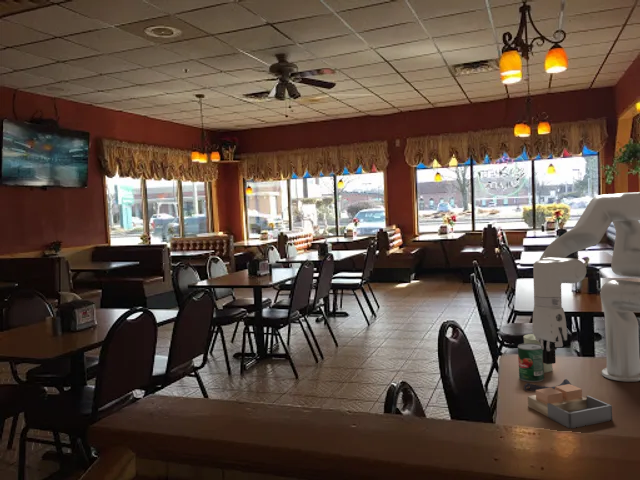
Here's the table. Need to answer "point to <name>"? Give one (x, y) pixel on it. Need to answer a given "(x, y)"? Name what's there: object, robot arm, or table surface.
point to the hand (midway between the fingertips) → (549, 363)
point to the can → (531, 339)
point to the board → (557, 404)
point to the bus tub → (582, 414)
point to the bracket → (537, 387)
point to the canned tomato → (530, 362)
